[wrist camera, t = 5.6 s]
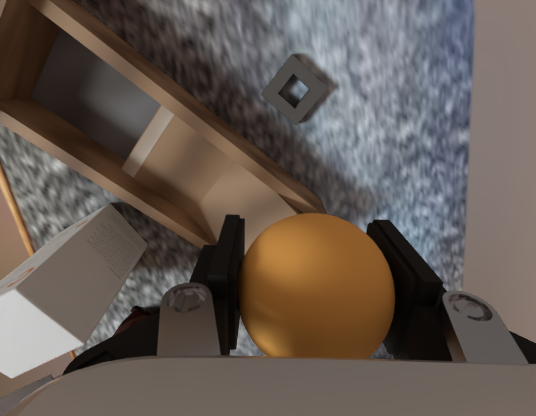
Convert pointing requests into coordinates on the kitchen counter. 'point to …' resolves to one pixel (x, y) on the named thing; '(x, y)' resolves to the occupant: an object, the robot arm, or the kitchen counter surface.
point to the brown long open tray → (134, 126)
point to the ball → (315, 289)
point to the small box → (65, 290)
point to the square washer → (307, 100)
